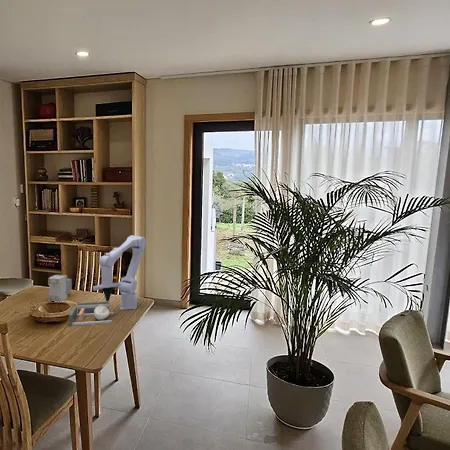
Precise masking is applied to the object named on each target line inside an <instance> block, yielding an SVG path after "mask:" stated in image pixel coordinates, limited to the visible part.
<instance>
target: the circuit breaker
mask: <svg viewBox="0 0 450 450" xmlns="http://www.w3.org/2000/svg"><path fill="white" fill-rule="evenodd" d="M47 279H48V280H47V284H48V286H49V287H48V288H49V289H48V290H49V294H48V302H49V301H62V302H63V301H65V300H67V299H68V298H69V294H68V293H69V292H71V291H72V290H73V289H72V287H73V286H72V285H73V284H72V283H73V282H72V278H68V275H66V274H55V275H52V276H50V277H48V278H47Z"/></svg>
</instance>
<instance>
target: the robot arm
mask: <svg viewBox="0 0 450 450" xmlns="http://www.w3.org/2000/svg"><path fill="white" fill-rule="evenodd" d="M146 245H147V239H146V238H145V237H144V236H138V235H133V234H131V235H129V236H128V237H127V238H126V240H125V241H124V242H123V243H122V244H121V245H120V246H119V247H114V248H112V250H111V251H109V252H108V253H107V254H106V255H102V256H100V257H99V260H98V265H100V269H101V272H100V273H101V283H100V284H97V285H93V286H92V290H93V291H95V292H96V291H98V290H101V291H102V292H103V295H104V298H105V302H107V301H109V302H110V299H111V298H110V297H111V295H112V293H113V291H114V288H117V291H119V293H120V299H121V300H120V309H119V310H120V311H121V310H122V311H123V310H124V311H125V310H136V308H137V309H138V307H137V306H138V292H136V291H137V285H138V282H137V279H136V276H137V273H138V270H139V267H140V264H141V261H142V257H143V255H144V254H143V253H144V251H145V248H146ZM129 248H131V250H133V254H132V257H131V260H130V262H129V263H130V264H129V265H128V269H127V271H126V272H127V273H126V276H124V277H122V278H121V280H120V282H113V278H114V277H113V267H114V265H115V263H116V262H117V260H118V259H119V258H121V257H122V256H123V253H124V252H125V251H127V250H128V249H129Z"/></svg>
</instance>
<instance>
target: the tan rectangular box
mask: <svg viewBox="0 0 450 450" xmlns="http://www.w3.org/2000/svg"><path fill="white" fill-rule="evenodd" d="M85 314H86V313H85V308H82V309H81V311H80V313H79V317H78V322H84V319H85V318H86V316H85Z"/></svg>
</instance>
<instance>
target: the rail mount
mask: <svg viewBox="0 0 450 450" xmlns="http://www.w3.org/2000/svg"><path fill="white" fill-rule="evenodd" d="M99 305H104V306H106V307H107V308H108V309H109V310H110V300H109V301H92V302H78V303H77V305H76V306H75V305H74V306H73V307H72V309H71V311H70V312H69V314H68V326H69V327H73V326H85V325H86V326H89V325H100V324H101V325H102V324H103V325H104V324H112V323H113V320H112V319H108V320H98V321H97V320H95V321H83V322H79V321H78V322H77V321H76V319H77V318H79V313H80V311H81V309H82V308H85V317H95V316H94V310H95V308H96V307H97V306H99ZM113 315H115V312H114V311H109V315H108V316H113ZM75 321H76V322H75Z"/></svg>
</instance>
